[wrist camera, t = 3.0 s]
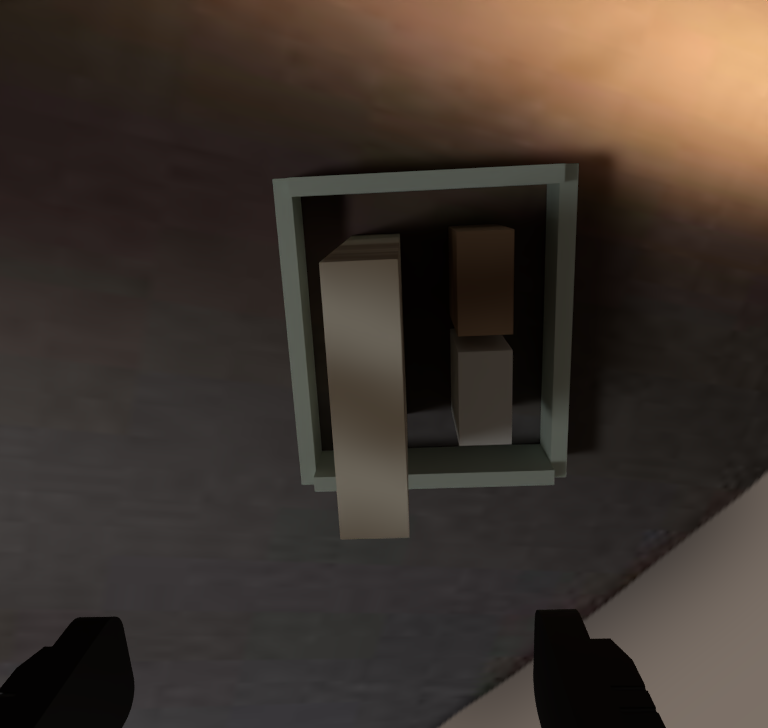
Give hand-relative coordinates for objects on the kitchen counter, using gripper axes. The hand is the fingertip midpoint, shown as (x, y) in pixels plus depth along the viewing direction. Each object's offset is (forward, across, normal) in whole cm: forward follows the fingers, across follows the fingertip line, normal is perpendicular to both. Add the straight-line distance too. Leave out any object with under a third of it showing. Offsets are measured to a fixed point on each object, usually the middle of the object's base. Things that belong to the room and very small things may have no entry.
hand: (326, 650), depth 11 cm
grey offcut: (+28, -6, +3) cm, 29 cm away
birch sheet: (+28, 0, 0) cm, 28 cm away
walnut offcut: (+28, -6, -4) cm, 29 cm away
